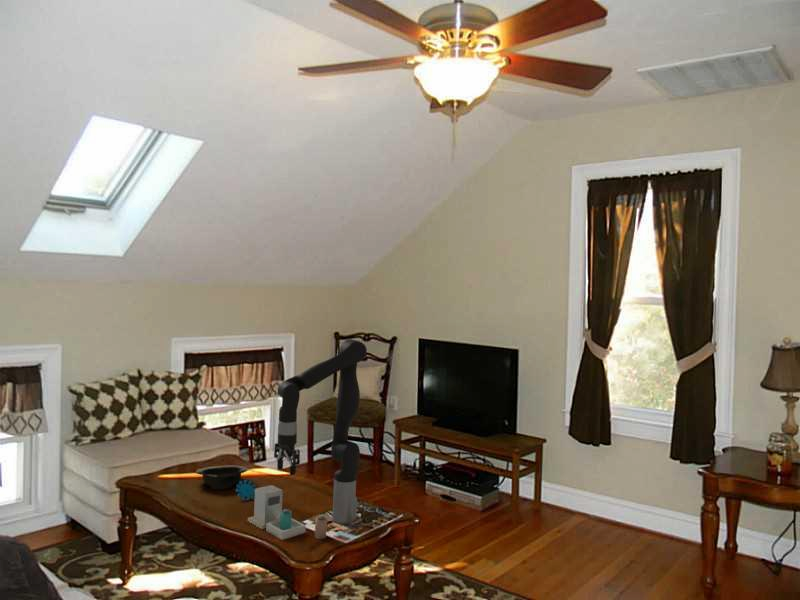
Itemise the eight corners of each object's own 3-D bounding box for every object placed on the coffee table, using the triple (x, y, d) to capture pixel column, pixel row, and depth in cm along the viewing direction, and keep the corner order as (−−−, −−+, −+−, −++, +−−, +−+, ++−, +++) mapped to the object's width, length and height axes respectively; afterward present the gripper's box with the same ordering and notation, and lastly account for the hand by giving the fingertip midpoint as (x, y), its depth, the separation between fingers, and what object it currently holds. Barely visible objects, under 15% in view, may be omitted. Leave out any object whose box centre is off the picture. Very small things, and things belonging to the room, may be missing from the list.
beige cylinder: (321, 533, 260) (322, 514, 259) (328, 537, 257) (329, 517, 256) (312, 536, 257) (313, 516, 256) (319, 539, 253) (320, 519, 253)
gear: (237, 499, 289) (235, 478, 295) (233, 505, 293) (230, 485, 299) (261, 499, 295) (258, 479, 301) (256, 505, 298) (254, 485, 305)
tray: (289, 524, 267) (289, 517, 267) (305, 532, 259) (305, 525, 259) (266, 530, 260) (266, 523, 260) (281, 539, 252) (282, 532, 252)
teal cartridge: (287, 526, 263) (287, 507, 262) (293, 530, 260) (294, 510, 259) (277, 529, 260) (278, 510, 259) (284, 532, 257) (284, 513, 256)
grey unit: (272, 514, 277) (273, 483, 277) (287, 522, 269) (288, 490, 269) (247, 521, 269) (248, 488, 268) (262, 529, 261) (263, 496, 260)
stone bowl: (221, 496, 297) (221, 475, 297) (184, 488, 310) (183, 469, 310) (260, 481, 318) (259, 462, 318) (223, 475, 331) (223, 457, 331)
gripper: (269, 429, 265) (268, 469, 265) (290, 437, 255) (288, 478, 255) (284, 427, 270) (283, 466, 271) (305, 434, 260) (304, 474, 261)
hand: (286, 472), depth 263 cm, fingers open, 8 cm apart
